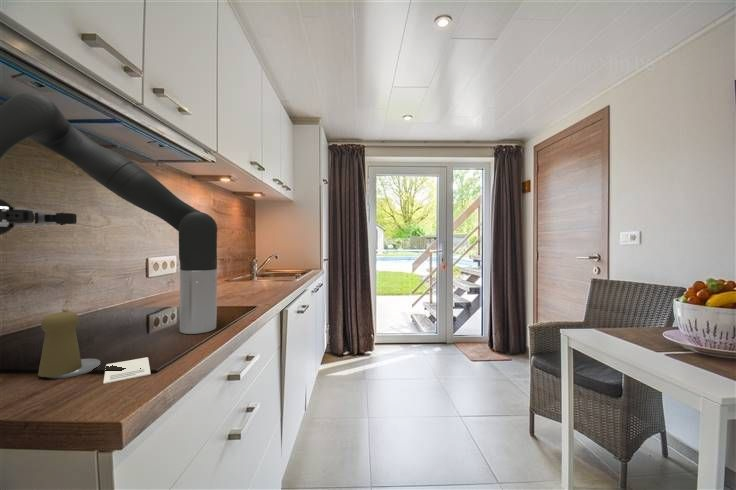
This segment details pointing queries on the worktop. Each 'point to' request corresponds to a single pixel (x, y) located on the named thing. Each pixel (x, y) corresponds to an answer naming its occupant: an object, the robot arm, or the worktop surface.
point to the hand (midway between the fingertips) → (54, 217)
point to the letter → (128, 370)
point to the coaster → (86, 367)
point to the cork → (59, 345)
